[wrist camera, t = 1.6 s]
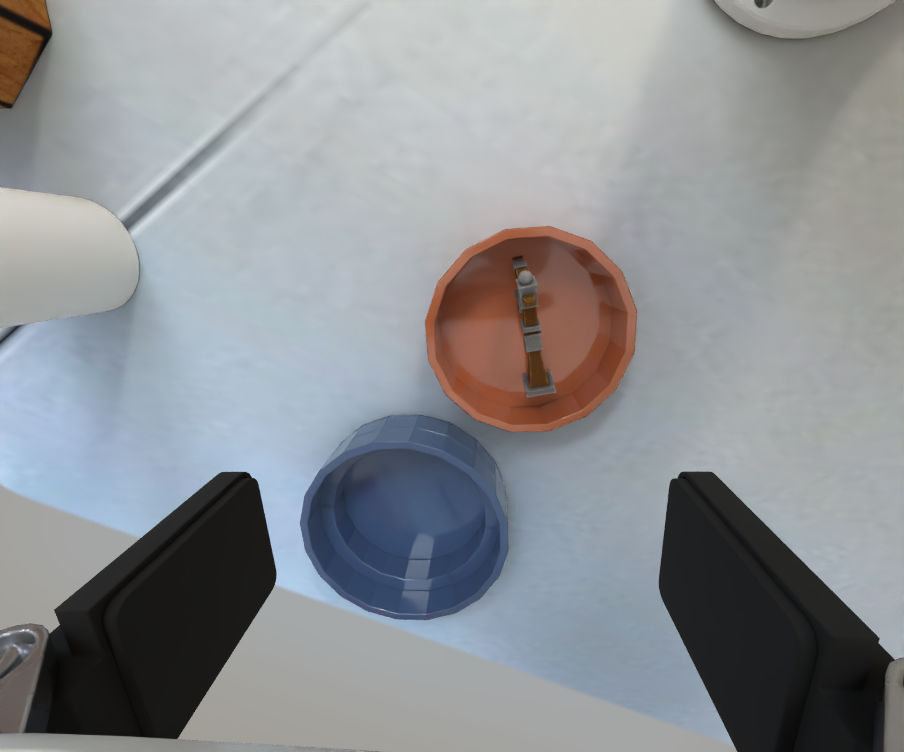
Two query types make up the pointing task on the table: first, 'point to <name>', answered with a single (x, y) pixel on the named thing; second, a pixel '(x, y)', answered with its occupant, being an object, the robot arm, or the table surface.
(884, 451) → the table surface
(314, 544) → the bowl
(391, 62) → the table surface
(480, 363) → the shallow terracotta dish
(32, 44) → the mug
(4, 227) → the cylindrical container
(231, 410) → the table surface
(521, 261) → the wooden post with brackets
